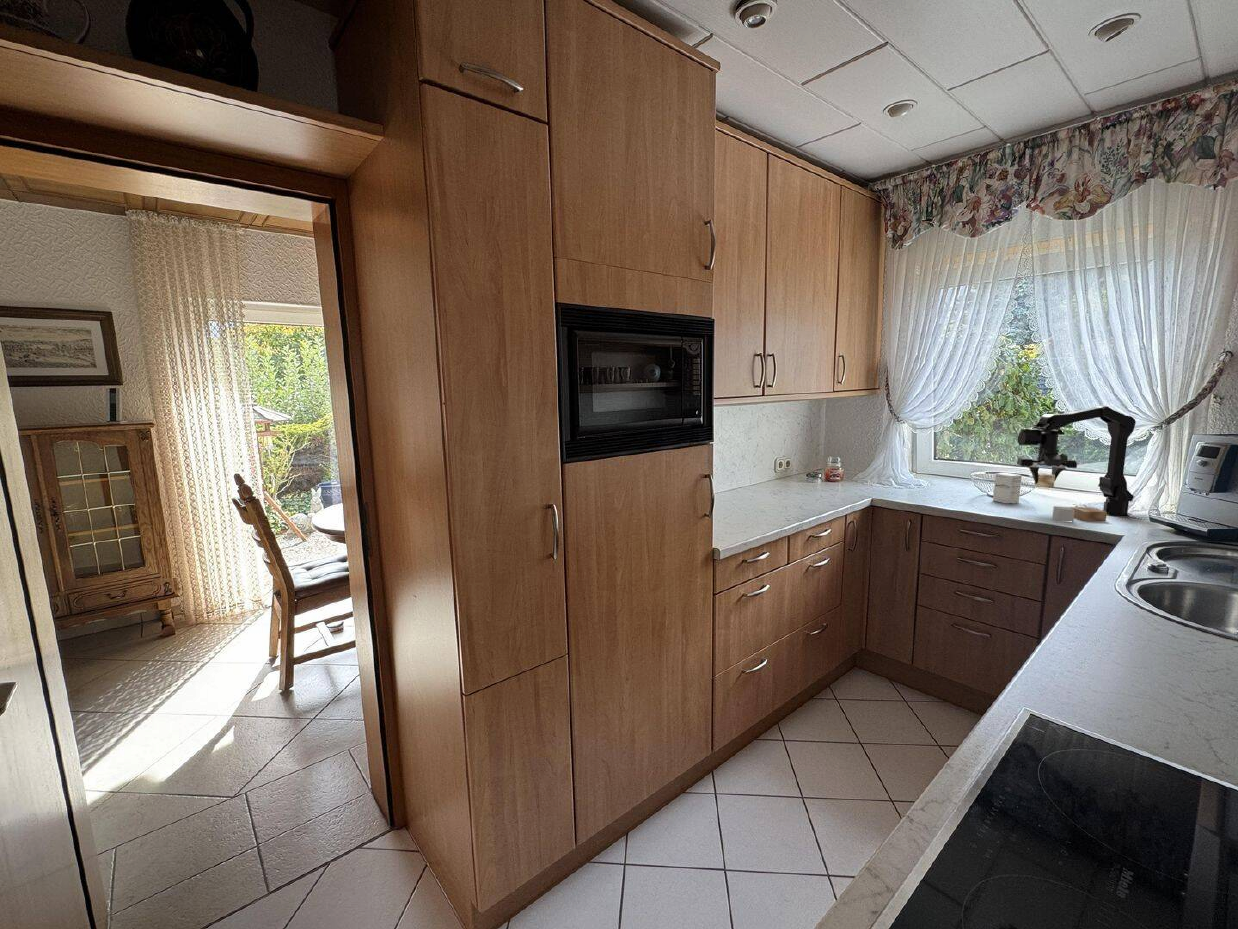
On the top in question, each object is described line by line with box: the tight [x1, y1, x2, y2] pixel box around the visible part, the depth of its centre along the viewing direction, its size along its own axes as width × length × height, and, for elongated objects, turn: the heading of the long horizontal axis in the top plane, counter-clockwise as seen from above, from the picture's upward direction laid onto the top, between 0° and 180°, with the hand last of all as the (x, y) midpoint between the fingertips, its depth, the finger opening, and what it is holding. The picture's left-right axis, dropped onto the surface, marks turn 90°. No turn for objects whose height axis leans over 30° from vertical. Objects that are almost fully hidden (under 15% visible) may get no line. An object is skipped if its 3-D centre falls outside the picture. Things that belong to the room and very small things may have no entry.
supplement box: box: [992, 472, 1023, 504], centre depth 248 cm, size 7×7×13 cm
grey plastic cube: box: [1051, 505, 1075, 523], centre depth 215 cm, size 5×5×5 cm
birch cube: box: [1033, 472, 1056, 489], centre depth 227 cm, size 5×5×5 cm
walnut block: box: [1069, 506, 1108, 522], centre depth 218 cm, size 8×8×4 cm
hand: (1044, 483), depth 227 cm, fingers closed on birch cube, 5 cm apart
